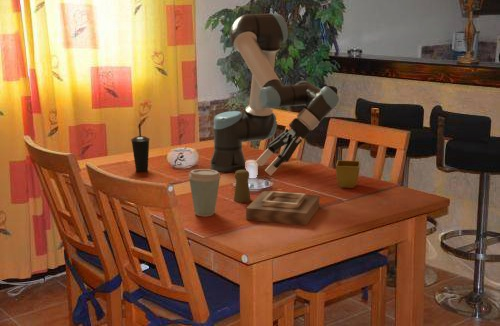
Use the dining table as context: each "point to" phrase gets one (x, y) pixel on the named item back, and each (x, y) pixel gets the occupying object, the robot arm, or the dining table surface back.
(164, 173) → the dining table surface
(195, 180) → the disposable coffee cup
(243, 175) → the pepper mill
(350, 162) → the flower pot
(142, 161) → the drinking cup
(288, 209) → the walnut stand
